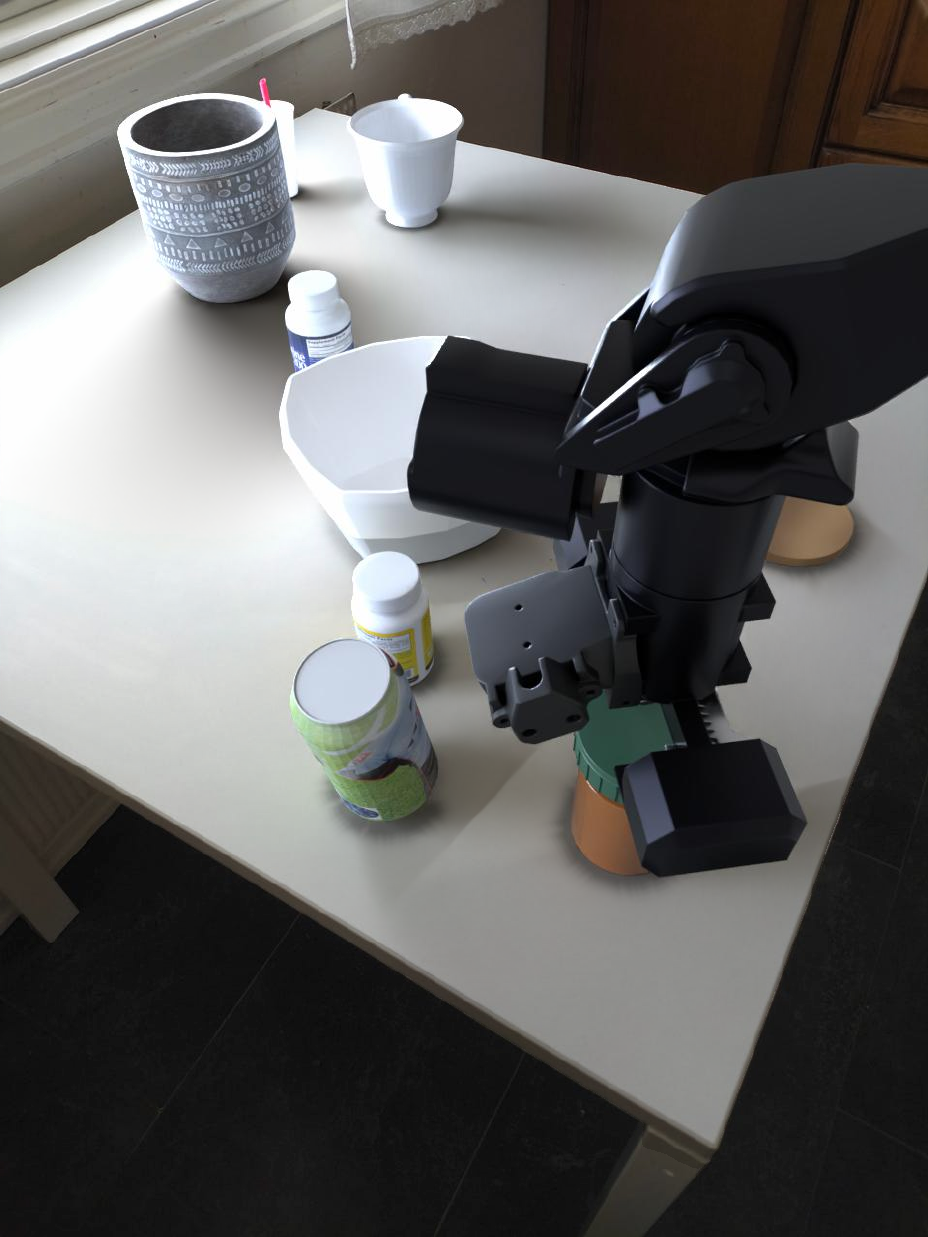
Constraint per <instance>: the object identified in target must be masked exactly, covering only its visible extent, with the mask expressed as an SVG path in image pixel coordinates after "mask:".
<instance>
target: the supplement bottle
mask: <svg viewBox="0 0 928 1237" xmlns="http://www.w3.org/2000/svg"><path fill="white" fill-rule="evenodd" d="M352 584H353V585H352V586H353V595H352V598H351V614H352V620H353V624H354V629H355V634H356V638H358V639H363V640H366V641H368V642H370V643H372V644H374V645H376V646H379V647H381V648H383V649H384V650H386V651H388V652H389V653H390V654H391V655H393V656H394V657H395V658H396V659H397V661H398V662H399V663H400V664H401V666H402V668H403V670H404V672H405V674H406V677H407V679H408V682H409V685H410V687H413V686H415V685H417V684H418V683H420V682H421V681H422V680H425V679H426V677H427V675H429V673H430V671H431V670H432V668H433V665H434V661H435V653H434V651H435V650H434V642H433V641H434V640H433V629H432V617H431V609H430V608H431V607H430V598H429V594H428V591H427V589H426V587H425V586H424V584H423V583H422V579H421V572H420V568H419V566H418V564H416V563H415V562H414V561H413V560H412V559H411V558H410V557H408V556H406V555H404V554H402V553H398V552H379V553H376V554H373V555H370V556H368V557H366V558H365V559H364V558H362V560H361V561H360V562H359V563H358V564H357V565H356V567H355V569H354V570H353V574H352Z"/></svg>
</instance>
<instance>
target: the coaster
mask: <svg viewBox="0 0 928 1237" xmlns="http://www.w3.org/2000/svg"><path fill="white" fill-rule="evenodd" d="M854 525H855V523H854V519H853V515H852V513H851V511H850V509H849V508H848V506H847V505H844V506H837V505H831V504H826V503H821V502H815V501H810V500H805V499H800V498H794V497H789V496H786V499H785V502H784V505H783V508H782V511H781V514H780V517H779V520H778V523H777V526H776V529H775V532H774V535H773V538H772V541H771V544H770V547H769V550H768V553H767V556H766V559H765V561H769V562H771V563H774V564H778V565H784V566H789V567H813V566H818V565H822V564H826V563H828V562H830V561H833V560H834V559H836V558H837V557H839V556H840V555H841V554H843V553H844V552H845V550H846V549H847V548H848V546H849V544H850V542H851V539H852V537H853V535H854V528H855V526H854Z"/></svg>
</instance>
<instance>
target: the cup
mask: <svg viewBox="0 0 928 1237" xmlns="http://www.w3.org/2000/svg"><path fill="white" fill-rule="evenodd" d="M266 82H267V81H266V79H265V78H261V80H260V81H259V85H260V90H261V95H262V98H263V101H261V102H262V103H264V104H266V105H267V106H269V107H270V108H271V109H272V110H273V111H274V113H275V115H276V120H277V126H278V132H279V139H280V143H281V148H282V153H283V158H284V164H285V170H286V176H287V183H288V191H289V196H290V198H293V197H294V196H296V195H297V194H298V193H299V184H298V167H297V166H298V164H297V152H296V151H297V150H296V137H295V136H296V135H295V125H294V124H295V123H294V111H295V110H294V109H295V107H294V105H293V104H291V103H289V102H287V101H283V100H270V96H269V91H268V87H267V83H266Z"/></svg>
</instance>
